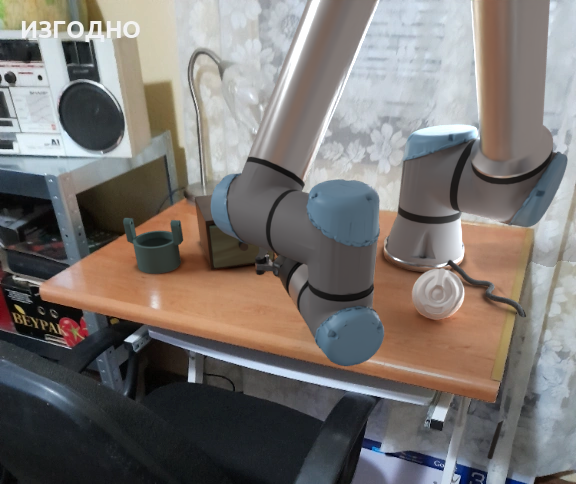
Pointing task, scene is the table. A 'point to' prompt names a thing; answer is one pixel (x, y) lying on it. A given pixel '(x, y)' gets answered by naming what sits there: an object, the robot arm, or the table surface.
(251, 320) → the table surface
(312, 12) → the robot arm
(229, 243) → the case drawer
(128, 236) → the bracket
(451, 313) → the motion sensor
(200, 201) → the case
